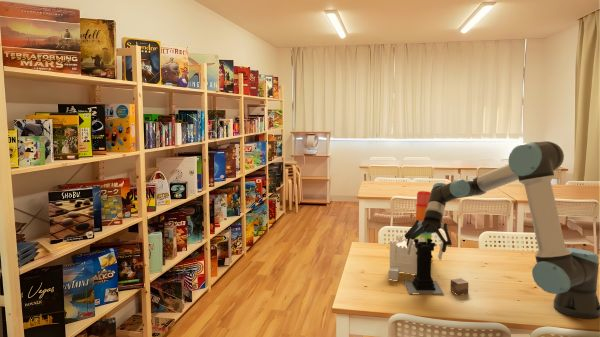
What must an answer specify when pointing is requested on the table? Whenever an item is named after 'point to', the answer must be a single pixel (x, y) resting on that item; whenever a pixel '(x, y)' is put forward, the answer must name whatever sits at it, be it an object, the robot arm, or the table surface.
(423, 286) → the chess piece
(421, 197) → the stacking cups
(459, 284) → the walnut cube
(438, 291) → the felt mat
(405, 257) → the castle model
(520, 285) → the table surface
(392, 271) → the grey plastic box
